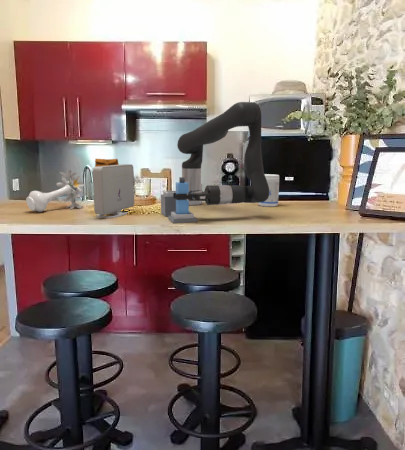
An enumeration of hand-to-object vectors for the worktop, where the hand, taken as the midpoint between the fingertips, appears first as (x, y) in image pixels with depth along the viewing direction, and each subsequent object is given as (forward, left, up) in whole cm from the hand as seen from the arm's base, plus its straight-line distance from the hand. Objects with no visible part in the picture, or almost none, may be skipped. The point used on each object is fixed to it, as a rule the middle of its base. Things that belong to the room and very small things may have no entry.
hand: (175, 196), depth 161 cm
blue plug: (-2, +2, -7) cm, 8 cm away
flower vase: (+12, -59, -10) cm, 61 cm away
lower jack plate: (-2, +2, -9) cm, 10 cm away
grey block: (-11, -11, -9) cm, 18 cm away
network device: (+4, -30, -10) cm, 32 cm away
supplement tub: (-60, +5, -10) cm, 61 cm away
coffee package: (-10, -51, -10) cm, 53 cm away
